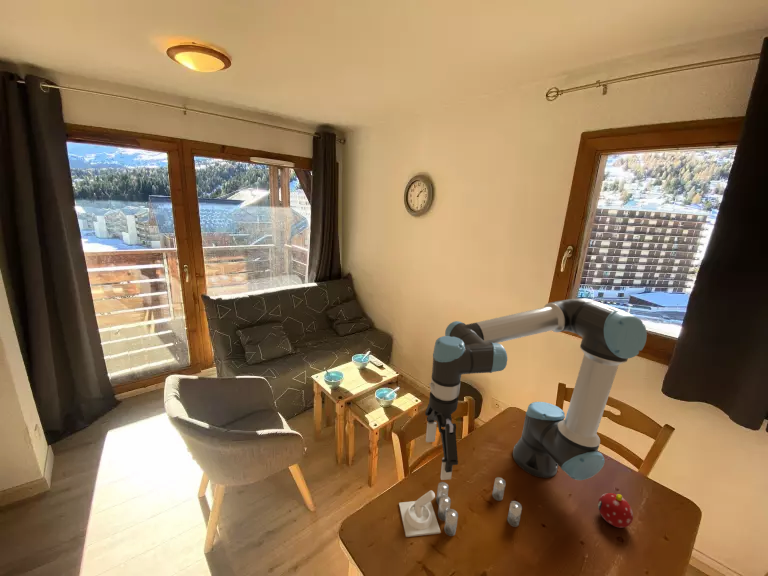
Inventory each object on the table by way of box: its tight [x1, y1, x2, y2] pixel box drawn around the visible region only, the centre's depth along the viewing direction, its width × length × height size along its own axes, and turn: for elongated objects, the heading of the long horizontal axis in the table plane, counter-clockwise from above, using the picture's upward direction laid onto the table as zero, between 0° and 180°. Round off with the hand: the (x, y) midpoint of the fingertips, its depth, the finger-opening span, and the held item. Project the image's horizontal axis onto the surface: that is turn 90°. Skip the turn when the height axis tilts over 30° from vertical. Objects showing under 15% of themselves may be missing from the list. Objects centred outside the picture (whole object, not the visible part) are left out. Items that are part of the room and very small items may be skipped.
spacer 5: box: [506, 500, 523, 528], centre depth 94 cm, size 3×3×6 cm
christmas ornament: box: [597, 492, 634, 529], centre depth 95 cm, size 9×9×10 cm
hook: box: [406, 490, 436, 529], centre depth 92 cm, size 8×12×7 cm
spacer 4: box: [491, 476, 507, 502], centre depth 102 cm, size 3×3×6 cm
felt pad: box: [398, 500, 441, 538], centre depth 94 cm, size 10×10×1 cm
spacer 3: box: [444, 508, 459, 537], centre depth 90 cm, size 3×3×6 cm
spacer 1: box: [435, 481, 449, 506], centre depth 99 cm, size 3×3×6 cm
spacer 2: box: [437, 495, 452, 522], centre depth 94 cm, size 3×3×6 cm
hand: (437, 458), depth 90 cm, fingers open, 13 cm apart
